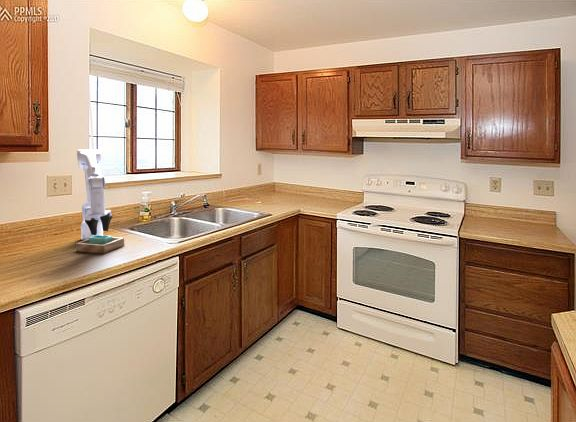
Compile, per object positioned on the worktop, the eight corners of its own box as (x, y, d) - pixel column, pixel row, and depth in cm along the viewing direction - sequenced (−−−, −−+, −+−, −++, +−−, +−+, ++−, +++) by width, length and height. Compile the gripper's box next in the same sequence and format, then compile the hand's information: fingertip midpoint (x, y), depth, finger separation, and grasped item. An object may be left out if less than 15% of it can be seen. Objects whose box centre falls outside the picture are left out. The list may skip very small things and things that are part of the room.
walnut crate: (76, 251, 169) (75, 243, 169) (98, 243, 183) (97, 235, 182) (104, 253, 166) (103, 245, 166) (124, 245, 180) (123, 237, 179)
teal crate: (89, 247, 173) (88, 237, 172) (97, 244, 178) (96, 234, 177) (105, 248, 171) (104, 238, 170) (112, 245, 176) (111, 236, 175)
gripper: (94, 206, 163) (96, 237, 166) (116, 201, 177) (118, 229, 180) (80, 205, 165) (82, 236, 167) (102, 200, 179) (104, 228, 181)
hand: (100, 232), depth 173 cm, fingers open, 7 cm apart
